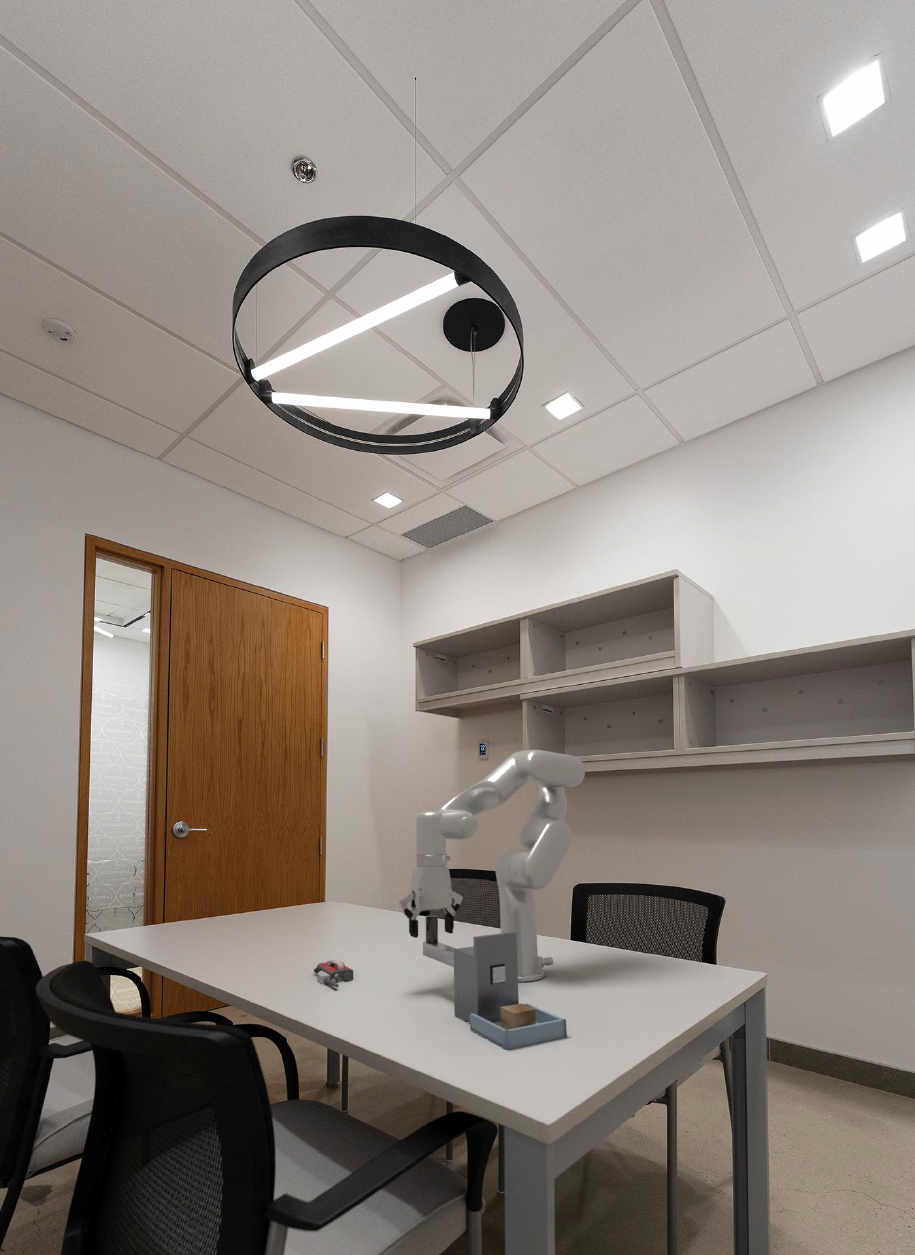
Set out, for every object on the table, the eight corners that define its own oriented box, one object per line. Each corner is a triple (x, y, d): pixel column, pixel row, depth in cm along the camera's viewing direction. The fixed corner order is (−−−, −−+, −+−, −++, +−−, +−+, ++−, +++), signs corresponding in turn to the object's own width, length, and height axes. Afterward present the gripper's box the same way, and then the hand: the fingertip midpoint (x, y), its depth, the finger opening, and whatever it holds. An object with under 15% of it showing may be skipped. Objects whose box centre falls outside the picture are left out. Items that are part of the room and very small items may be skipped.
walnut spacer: (535, 1009, 140) (536, 1031, 139) (521, 1003, 144) (521, 1025, 144) (514, 1013, 138) (514, 1036, 137) (500, 1007, 142) (500, 1029, 141)
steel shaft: (433, 953, 176) (433, 914, 178) (505, 981, 148) (504, 935, 150) (422, 954, 175) (422, 915, 177) (493, 983, 147) (492, 936, 149)
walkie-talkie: (306, 976, 190) (332, 993, 174) (306, 958, 191) (333, 973, 175) (337, 972, 195) (366, 987, 178) (337, 954, 196) (366, 968, 179)
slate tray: (527, 1019, 149) (527, 1003, 150) (566, 1036, 138) (566, 1019, 139) (470, 1030, 143) (469, 1013, 143) (506, 1049, 131) (505, 1031, 132)
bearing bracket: (494, 1008, 157) (492, 926, 161) (519, 1020, 149) (516, 932, 153) (454, 1015, 152) (453, 930, 156) (478, 1028, 144) (476, 937, 148)
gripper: (454, 859, 186) (455, 928, 182) (393, 862, 178) (393, 936, 174) (468, 861, 180) (469, 933, 176) (406, 865, 172) (406, 941, 168)
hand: (431, 934), depth 175 cm, fingers open, 9 cm apart
